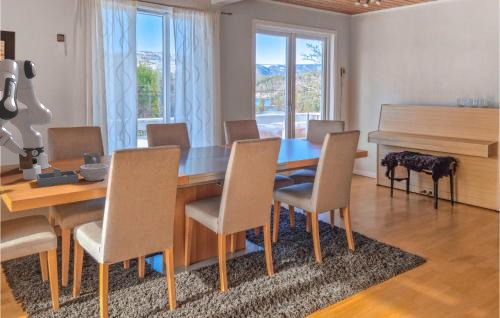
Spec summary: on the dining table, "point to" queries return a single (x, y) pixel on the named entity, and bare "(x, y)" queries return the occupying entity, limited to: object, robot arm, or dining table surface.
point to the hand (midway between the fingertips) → (25, 154)
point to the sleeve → (26, 160)
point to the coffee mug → (92, 158)
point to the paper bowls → (93, 171)
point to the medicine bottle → (32, 170)
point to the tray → (57, 177)
